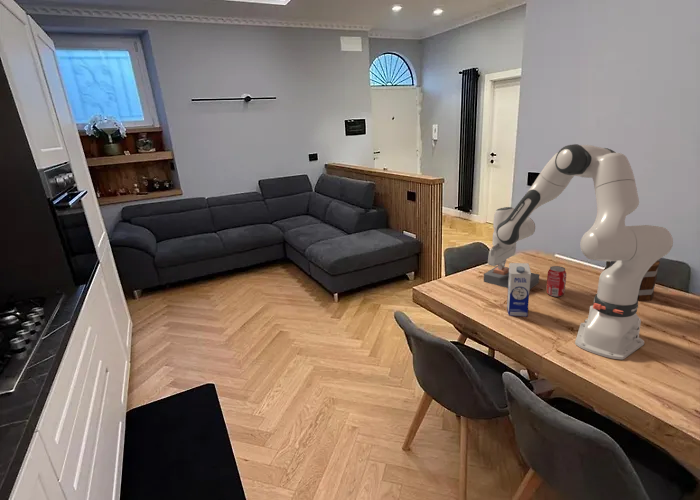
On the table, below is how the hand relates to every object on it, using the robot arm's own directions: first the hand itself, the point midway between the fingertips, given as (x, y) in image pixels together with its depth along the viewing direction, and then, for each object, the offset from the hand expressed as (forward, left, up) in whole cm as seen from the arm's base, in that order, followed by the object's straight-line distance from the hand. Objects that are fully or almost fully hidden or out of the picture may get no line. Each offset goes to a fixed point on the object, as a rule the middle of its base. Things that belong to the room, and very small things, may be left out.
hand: (501, 268), depth 179 cm
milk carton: (-26, -20, -6) cm, 33 cm away
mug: (+19, -46, -6) cm, 50 cm away
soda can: (-1, -25, -6) cm, 26 cm away
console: (0, -5, -6) cm, 7 cm away
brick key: (0, 0, -3) cm, 3 cm away
